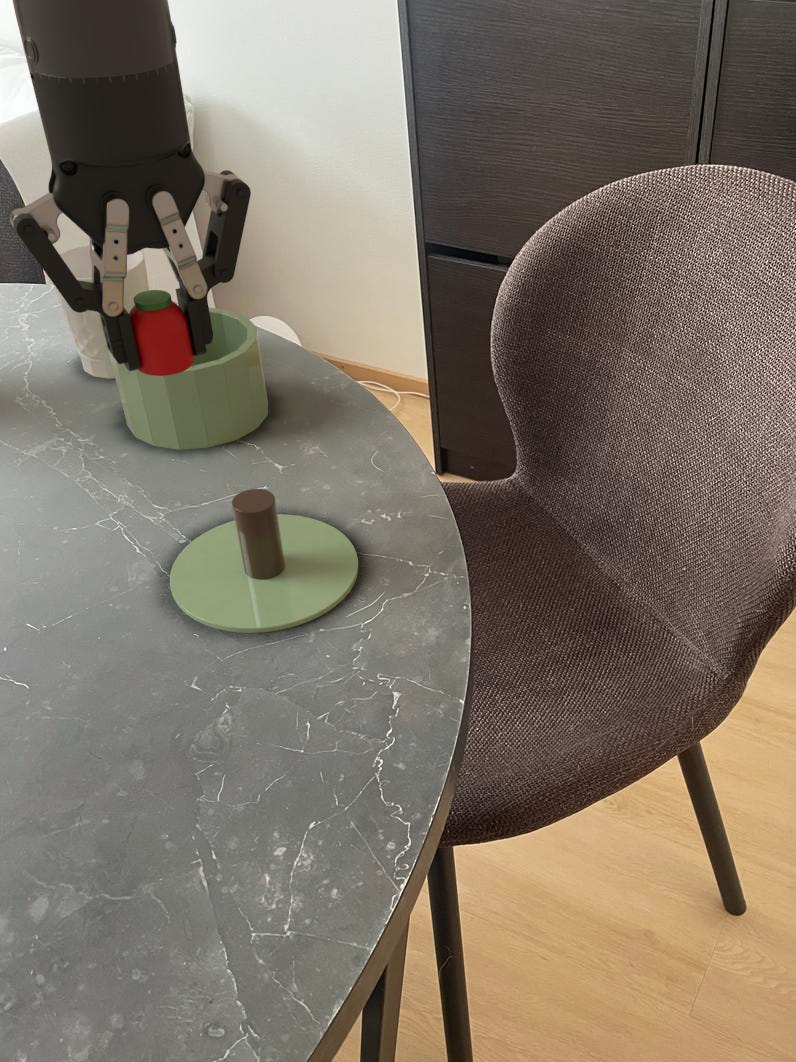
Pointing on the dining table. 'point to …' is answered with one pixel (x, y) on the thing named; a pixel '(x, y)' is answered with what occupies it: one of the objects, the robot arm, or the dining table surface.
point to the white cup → (88, 323)
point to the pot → (200, 391)
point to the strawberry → (160, 334)
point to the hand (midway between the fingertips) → (163, 356)
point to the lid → (263, 569)
